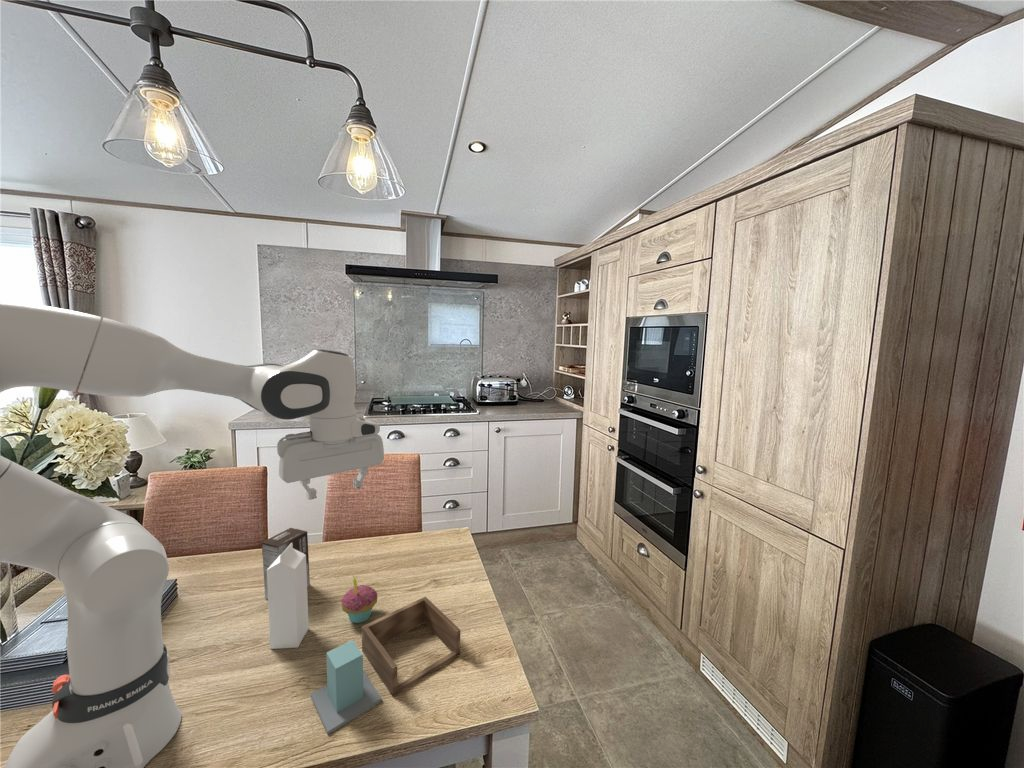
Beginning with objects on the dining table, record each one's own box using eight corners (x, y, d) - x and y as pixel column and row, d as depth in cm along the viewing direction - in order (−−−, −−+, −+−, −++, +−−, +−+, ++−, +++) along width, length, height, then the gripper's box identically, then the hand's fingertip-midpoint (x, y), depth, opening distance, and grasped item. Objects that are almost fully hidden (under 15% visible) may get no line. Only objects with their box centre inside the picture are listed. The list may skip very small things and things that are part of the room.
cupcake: (365, 631, 95) (364, 584, 94) (333, 625, 97) (332, 579, 95) (383, 607, 103) (383, 564, 102) (354, 602, 105) (353, 559, 104)
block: (336, 713, 74) (335, 668, 73) (327, 694, 77) (326, 652, 76) (363, 697, 77) (362, 654, 76) (353, 680, 81) (352, 639, 80)
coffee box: (293, 579, 114) (291, 526, 112) (310, 585, 112) (308, 530, 110) (263, 599, 106) (260, 541, 104) (281, 605, 103) (279, 546, 102)
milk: (270, 649, 89) (264, 556, 86) (282, 629, 95) (277, 542, 92) (298, 647, 90) (294, 555, 87) (309, 628, 96) (305, 541, 93)
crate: (392, 696, 78) (392, 668, 77) (362, 651, 89) (361, 626, 88) (460, 654, 89) (460, 629, 88) (425, 618, 100) (425, 596, 99)
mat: (327, 734, 70) (327, 731, 70) (310, 696, 78) (310, 693, 78) (381, 701, 77) (381, 698, 77) (361, 668, 84) (361, 666, 84)
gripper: (280, 439, 73) (284, 511, 75) (386, 424, 87) (387, 485, 88) (272, 432, 78) (275, 500, 79) (374, 419, 91) (375, 478, 93)
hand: (335, 492), depth 84 cm, fingers open, 8 cm apart
